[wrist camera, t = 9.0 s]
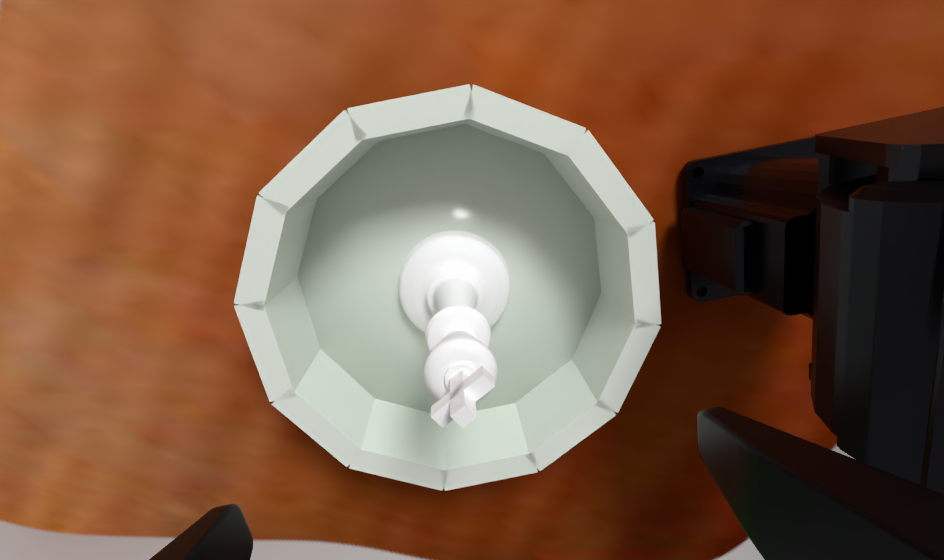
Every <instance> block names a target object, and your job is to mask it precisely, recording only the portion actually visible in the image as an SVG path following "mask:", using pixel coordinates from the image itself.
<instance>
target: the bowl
mask: <svg viewBox="0 0 944 560" xmlns="http://www.w3.org/2000/svg"><path fill="white" fill-rule="evenodd" d="M585 129H586V128H584V127H582V126H579V125H577V124H574V123H571V122H569V121H566V120H564V119H561V118H559V117H556V116H553V115H551V114H548V113H546V112H543V111H541V110H538V109H535V108H533V107H530V106H528V105H525V104H523V103H520V102H517V101H515V100H512V99H510V98H507V97H505V96H502V95H499V94H497V93H494V92H492V91H489V90H487V89H484V88H481V87H479V86H476V85H474V84H473V86H472V89H471V88H470V84H468V85H463V86H458V87H453V88H447V89H442V90H437V91H432V92H427V93H422V94H417V95H412V96H407V97H402V98H397V99H392V100H387V101H382V102H376V103H371V104H366V105H361V106H356V107H351V108H348V111H346V110H344V111H343V112H342V113H341V114H339V115H338V116H337V117H336V118H335V119H334V120H333V121H332V122H331V123H330V124H329V125H328V126H327V127H326V128H325V129H324V130H323V131H322V132H321V133H320V134H319V135H318V136H317V137H316V138H315V139H314V140H313V141H312V142H311V143H310V144H309V145H307V146H306V147H305V148H304V149H303V150H302V151H301V152H300V153H299V154H298V155H297V156H296V157H295V158H294V159H293V160H292V161H291V162H290V163H289V164H288V165H287V166H286V167H285V168H284V169H283V170H282V171H281V172H280V173H279V174H278V175H277V176H276V177H274V178H273V179H272V180H271V181H270V182H269V183H268V184H267V185H266V186H265V187H264V188H263V189H262V190H261V191H260V192H259V194H260V195H258V196H257V198H256V202H255V207H254V212H253V216H252V221H251V226H250V230H249V235H248V239H247V244H246V249H245V253H244V258H243V263H242V267H241V272H240V276H239V281H238V286H237V290H236V295H235V300H234V303H235V304H236V305H235V306H234V308H235V310H236V313H237V316H238V318H239V321H240V324H241V326H242V329H243V332H244V334H245V337H246V340H247V342H248V345H249V348H250V350H251V353H252V356H253V359H254V361H255V364H256V367H257V369H258V372H259V375H260V377H261V380H262V383H263V385H264V388H265V391H266V393H267V396H268V399H269V401H270V402H272V401H273V403H272V405H273V406H274V407H275V408H276V409H278V410H279V411H280V412H281V413H282V414H284V415H285V416H286V417H287V418H288V419H290V420H291V421H292V422H293V423H294V424H296V425H297V426H298V427H299V428H300V429H301V430H303V431H304V432H305V433H306V434H307V435H309V436H310V437H311V438H312V439H313V440H315V441H316V442H317V443H318V444H319V445H321V446H322V447H323V448H324V449H325V450H327V451H328V452H329V453H330V454H331V455H333V456H334V457H335V458H336V459H337V460H338V461H340V462H341V463H342V464H343V465H344V466H346V467H347V466H349V465H350V467H349V469H353V470H357V471H362V472H366V473H370V474H374V475H378V476H382V477H387V478H391V479H395V480H399V481H403V482H407V483H412V484H416V485H420V486H424V487H428V488H432V489H436V490H441V491H442V490H443V488H444V489H445V491H447V490H452V489H457V488H462V487H467V486H472V485H477V484H482V483H487V482H492V481H497V480H502V479H507V478H512V477H517V476H522V475H527V474H532V473H537V472H538V471H537V468H538V469H539V470H540V471H541V470H543V469H544V468H545V467H547V466H548V465H549V464H551V463H552V462H553V461H555V460H556V459H558V458H559V457H560V456H562V455H563V454H564V453H566V452H567V451H568V450H570V449H571V448H572V447H574V446H575V445H576V444H578V443H579V442H581V441H582V440H583V439H585V438H586V437H587V436H589V435H590V434H591V433H593V432H594V431H595V430H597V429H598V428H599V427H601V426H602V425H604V424H605V423H606V422H608V421H609V420H610V419H612V418H613V417H614V416H616V414H615V412H617V413H618V412H619V410H620V408H621V406H622V404H623V402H624V400H625V398H626V396H627V394H628V392H629V390H630V388H631V386H632V384H633V382H634V380H635V378H636V376H637V374H638V372H639V370H640V368H641V366H642V364H643V362H644V360H645V358H646V356H647V354H648V352H649V350H650V348H651V346H652V344H653V342H654V340H655V338H656V336H657V334H658V332H659V329H660V327H661V326H659V325H658V324H661V309H660V293H659V278H658V263H657V248H656V232H655V223H654V222H652V221H653V220H654V219H653V218H652V217H651V215H650V214H649V212H648V211H647V210H646V208H645V207H644V206H643V204H642V203H641V201H640V200H639V199H638V197H637V196H636V195H635V193H634V192H633V190H632V189H631V188H630V186H629V185H628V184H627V182H626V181H625V179H624V178H623V177H622V175H621V174H620V173H619V171H618V170H617V168H616V167H615V166H614V164H613V163H612V162H611V160H610V159H609V157H608V156H607V155H606V153H605V152H604V151H603V149H602V148H601V146H600V145H599V144H598V142H597V141H596V140H595V138H594V137H593V135H592V134H591V133H590V131H589V130H587V131H585ZM449 230H460V231H467V232H471V233H474V234H477V235H479V236H481V237H483V238H484V239H486V240H488V241H489V242H490V243H491V244H493V245H494V246H495V247H496V248H497V249H498V251H499V252H500V253H501V255H502V256H503V258H504V260H505V262H506V264H507V267H508V270H509V274H510V296H509V300H508V304H507V306H506V309H505V311H504V313H503V314H502V316H501V317H500V319H499V320H498V321H497V322H496V323H495V324H494V325H493V326H492V327H491V328H490V329H491V342H490V346H489V350H490V351H491V352H492V354H493V355H494V357H495V360H496V363H497V368H498V374H497V379H496V383H495V387H494V388H492V390H491V391H490V393H489V394H488V395H487V396H485V397H484V398H483V399H481V400H480V401H478V402H476V411H477V418H476V419H474V420H473V421H472V422H471V423H469V424H468V425H467V426H465V427H464V428H462V427H461V426H460V425H459V424H458V423H457V422H456V421H454V420H452V421H451V422H450V423H448V424H447V425H446V426H445V427H443V428H442V427H441V426H440V425H439V424H438V423H437V422H436V421H435V420H434V419H432V418H431V406H433V405H434V404H435V403H436V402H438V401H439V399H437V398H436V397H435V396H434V395H433V394H432V393H431V392H430V391H429V389H428V388H427V386H426V383H425V380H424V365H425V362H426V359H427V357H428V355H429V353H430V352H429V350H428V348H427V345H426V342H425V333H424V332H423V331H421V330H420V329H419V328H417V327H416V326H415V325H414V324H413V323H412V322H411V320H410V319H409V318H408V316H407V315H406V313H405V311H404V309H403V307H402V304H401V301H400V296H399V289H398V279H399V273H400V269H401V266H402V264H403V261H404V260H405V258H406V256H407V255H408V253H409V252H410V251H411V249H412V248H413V247H414V246H415V245H416V244H418V243H419V242H420V241H422V240H423V239H425V238H426V237H428V236H430V235H433V234H435V233H439V232H443V231H449Z"/></svg>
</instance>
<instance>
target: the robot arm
mask: <svg viewBox="0 0 944 560" xmlns="http://www.w3.org/2000/svg"><path fill="white" fill-rule="evenodd" d="M695 167H697V168H698V170H699V172H698V175H697V176H696V177H693V175H692V171H693V169H694V168H695ZM682 190H683V210H682V212H681V213H680V226H681V247H682V264H683V266H684V267H686V278H687V293H688V295H689V296H690V297H691V298H692V299H694V300H696V301H698V302H703V301H708V300H713V299H718V298H723V297H728V296H733V295H747V296H750V297H752V298H754V299H756V300H758V301H760V302H762V303H764V304H766V305H768V306H770V307H772V308H774V309H776V310H778V311H780V312H782V313H784V314H786V315H796V314H802V315H804V316H807V317H809V318H811V319H813V331H812V363H810V364H809V379H810V380H811V397H812V402H813V407H814V411H815V413H816V414H817V415H818V416H819V417H820V419H821V420H822V421H823V422H824V423H825V424H826V426H827V427H828V428H829V429H830V430H831V432H832V433H834V434H835V435H836V436H837V446H838V447H839V448H840V449H841V450H842V451H844V452H845V453H847V454H848V455H850V456H851V457H853V458H854V459H852V458H850V457H847V456H845V455H842V454H840V453H837V452H835V451H832V450H829V449H827V448H824V447H822V446H819V445H817V444H814V443H812V442H809V441H806V440H804V439H801V438H799V437H796V436H794V435H791V434H788V433H786V432H783V431H781V430H778V429H776V428H773V427H771V426H768V425H765V424H763V423H760V422H758V421H755V420H753V419H750V418H748V417H745V416H742V415H740V414H737V413H735V412H732V411H730V410H727V409H724V408H721V407H716V408H711V409H706V410H702V411H700V412H699V413H698V417H697V424H698V446H699V451H700V455H701V457H702V459H703V461H704V463H705V464H706V466H707V468H708V469H709V471H710V473H711V475H712V476H713V478H714V480H715V481H716V483H717V485H718V486H719V488H720V490H721V492H722V493H723V495H724V497H725V498H726V500H727V502H728V504H729V505H730V507H731V509H732V510H733V512H734V514H735V515H736V517H737V519H738V521H739V522H740V524H741V525H742V527H743V529H744V530H745V532H746V534H747V535H748V537H749V538H750V539H751V541H752V542H753V544H754V545H755V547H756V548H757V550H758V551H759V552H760V554H761V555H762V556H763V558H764V559H765V560H944V107H941V108H937V109H932V110H927V111H922V112H918V113H913V114H908V115H904V116H899V117H894V118H890V119H885V120H880V121H876V122H871V123H866V124H862V125H857V126H852V127H848V128H843V129H838V130H834V131H829V132H824V133H820V134H816V135H815V136H813V137H808V138H803V139H798V140H793V141H788V142H783V143H778V144H773V145H768V146H763V147H758V148H753V149H748V150H743V151H738V152H732V153H727V154H722V155H717V156H712V157H707V158H702V159H697V160H692V161H690V162H688V163H687V164H686V165H685V166H684V168H683V169H682ZM700 287H703V289H702V291H701V293H699V294H697V290H698V289H699V288H700ZM855 459H856V460H855ZM252 549H253V538H252V534H251V532H250V529H249V527H248V525H247V522H246V520H245V518H244V515H243V513H242V511H241V509H240V507H239V506H238V505H236V504H229V505H224V506H219V507H215V508H213V509H211V510H210V511H209V512H207V513H206V514H205V515H204V516H203V517H201V518H200V519H199V520H198V521H196V522H195V523H194V524H193V525H191V526H190V527H189V528H188V529H186V530H185V531H184V532H183V533H182V534H180V535H179V536H178V537H177V538H175V539H174V540H173V541H172V542H170V543H169V544H168V545H167V546H165V547H164V548H163V549H162V550H161V551H160V552H158V553H157V554H156V555H154V556H153V557H152V558H151V559H150V560H250V557H251V553H252Z"/></svg>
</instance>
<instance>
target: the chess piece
mask: <svg viewBox="0 0 944 560" xmlns="http://www.w3.org/2000/svg"><path fill="white" fill-rule="evenodd" d="M398 289H399V296H400V301H401V304H402V307H403V309H404V311H405V313H406V315H407V316H408V318H409V319H410V320H411V322H412V323H413V324H414V325H415V326H416V327H417V328H419V329H420V330H421V331H423V332H424V333H425V342H426V345H427V348H428V350H429V352H430V353H429V355H428V357H427V359H426V362H425V365H424V380H425V383H426V386H427V388H428V389H429V391H430V392H431V393H432V394H433V395H434V396H435V397H436V398H437V399H439V401H438V402H436V403H435V404H434V405H433V406H431V418H432V419H434V420H435V421H436V422H437V423H438V424H439V425H440V426H441V427H442V428H443V427H445V426H446V425H447V424H448V423H450V422H451V421H452V420H454V421H456V422H457V423H458V424H459V425H460V426H461V427H462V428H464V427H465V426H467V425H468V424H469V423H471V422H472V421H473V420H474V419H476V418H477V411H476V402H478V401H480V400H481V399H483V398H484V397H485V396H487V395H488V394H489V393H490V391H491V390H492V388H494V387H495V383H496V379H497V374H498V368H497V363H496V360H495V357H494V355H493V354H492V352H491V351H490V350H489V346H490V342H491V329H490V328H491V327H492V326H493V325H494V324H495V323H496V322H497V321H498V320H499V319H500V317H501V316H502V314H503V313H504V311H505V309H506V306H507V304H508V300H509V296H510V274H509V270H508V267H507V264H506V262H505V260H504V258H503V256H502V255H501V253H500V252H499V251H498V249H497V248H496V247H495V246H494V245H493V244H491V243H490V242H489V241H488V240H486V239H484V238H483V237H481V236H479V235H477V234H474V233H471V232H467V231H460V230H449V231H443V232H439V233H435V234H433V235H430V236H428V237H426V238H425V239H423V240H422V241H420V242H419V243H418V244H416V245H415V246H414V247H413V248H412V249H411V251H410V252H409V253H408V255H407V256H406V258H405V260H404V261H403V264H402V266H401V269H400V273H399V279H398Z"/></svg>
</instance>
